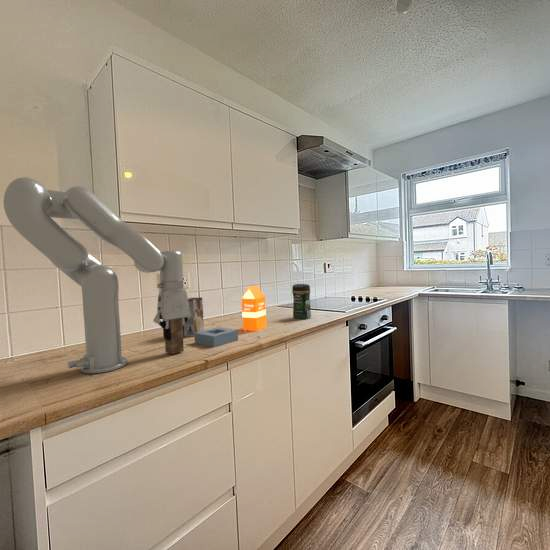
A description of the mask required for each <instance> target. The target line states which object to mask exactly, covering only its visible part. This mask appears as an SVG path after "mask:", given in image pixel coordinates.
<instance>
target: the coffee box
mask: <svg viewBox="0 0 550 550" xmlns="http://www.w3.org/2000/svg"><path fill="white" fill-rule="evenodd" d="M188 303H189V312H190V313H191V314H192V316H191V317H190V318H189V319H188V320H187V322H186V323H185V326H184V337H195V333H196V332H200V331H204V330H205V327H204V326H205V325H204V308H203V307H204V306H203V296H201V297H188Z"/></svg>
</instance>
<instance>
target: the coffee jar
mask: <svg viewBox="0 0 550 550" xmlns="http://www.w3.org/2000/svg"><path fill="white" fill-rule="evenodd" d="M310 287H311V286H310V285H309V283H308V284H305V283H297V284H293V285H292V287H291V288H292V291H291V293H292V297H293V304H292V305H293V308H292V309H293V311H292V312H293V314H292V316H293V318H294V319H299V320H305V319H310V318H312V310H311V309H312V308H311V301H310V299H311V298H310V297H311V296H310V294H311V288H310Z"/></svg>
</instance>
